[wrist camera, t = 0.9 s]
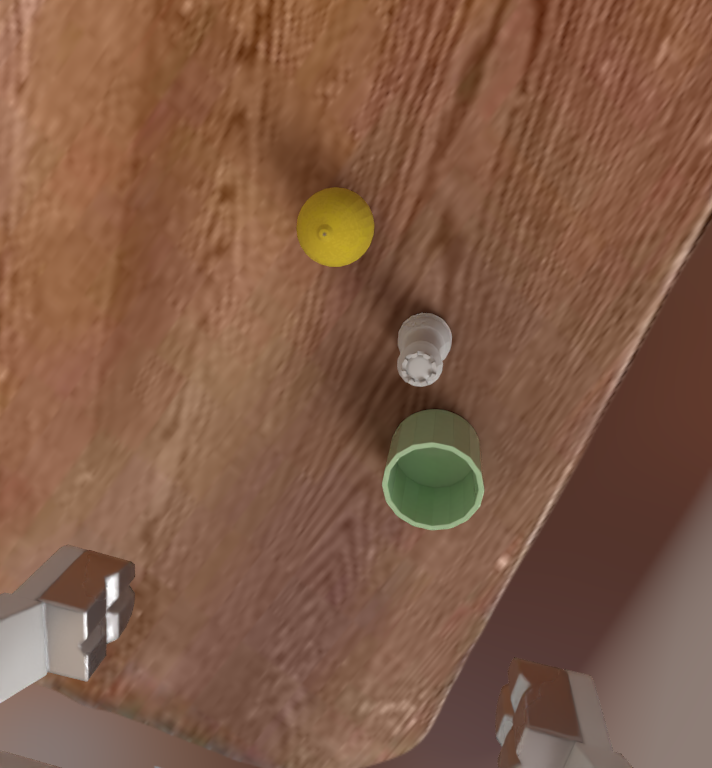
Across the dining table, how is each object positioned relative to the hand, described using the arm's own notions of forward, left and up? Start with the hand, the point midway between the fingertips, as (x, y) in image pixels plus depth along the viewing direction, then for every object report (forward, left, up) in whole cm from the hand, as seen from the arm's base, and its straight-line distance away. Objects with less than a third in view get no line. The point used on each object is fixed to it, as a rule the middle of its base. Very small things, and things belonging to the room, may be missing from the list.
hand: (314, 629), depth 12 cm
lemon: (-4, -7, -37) cm, 38 cm away
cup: (+14, +4, -37) cm, 40 cm away
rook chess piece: (+4, +1, -37) cm, 38 cm away
